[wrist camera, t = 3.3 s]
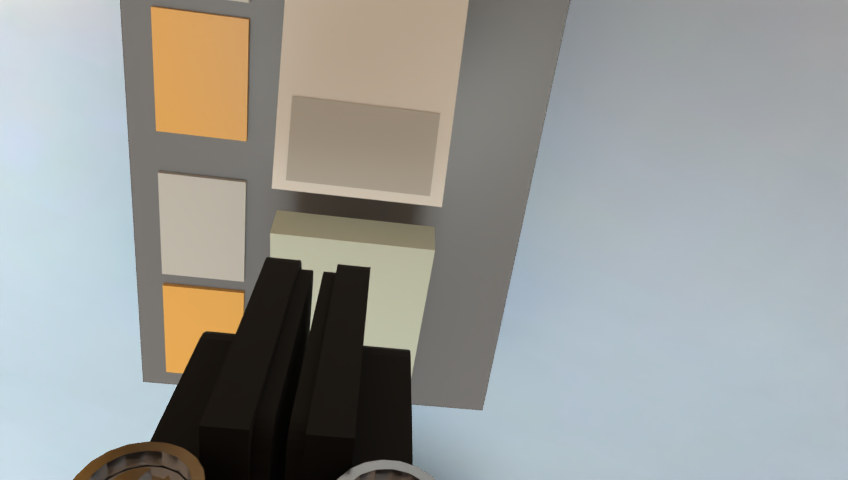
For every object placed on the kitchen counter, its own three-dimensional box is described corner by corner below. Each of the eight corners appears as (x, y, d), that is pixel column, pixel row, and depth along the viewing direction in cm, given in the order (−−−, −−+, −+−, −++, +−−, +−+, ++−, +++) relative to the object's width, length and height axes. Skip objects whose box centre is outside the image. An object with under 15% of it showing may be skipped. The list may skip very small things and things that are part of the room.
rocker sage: (434, 226, 22) (435, 251, 21) (402, 405, 27) (401, 431, 26) (276, 210, 21) (269, 234, 20) (276, 394, 27) (270, 421, 26)
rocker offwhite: (479, -112, 19) (485, -125, 18) (438, 199, 21) (441, 207, 20) (300, -139, 19) (294, -154, 17) (277, 181, 21) (271, 188, 19)
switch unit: (566, -116, 23) (608, -123, 19) (473, 354, 32) (486, 431, 27) (155, -178, 22) (88, -204, 18) (173, 327, 31) (131, 402, 26)
